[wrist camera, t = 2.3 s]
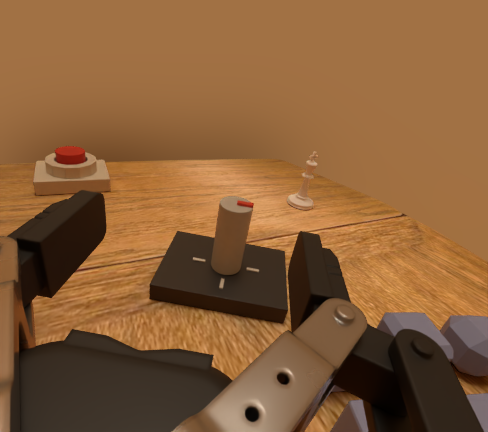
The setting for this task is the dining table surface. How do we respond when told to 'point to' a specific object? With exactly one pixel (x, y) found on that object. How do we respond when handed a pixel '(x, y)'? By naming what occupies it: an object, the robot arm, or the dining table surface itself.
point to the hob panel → (222, 280)
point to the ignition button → (70, 155)
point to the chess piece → (304, 187)
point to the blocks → (455, 347)
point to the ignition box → (70, 176)
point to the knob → (231, 234)
